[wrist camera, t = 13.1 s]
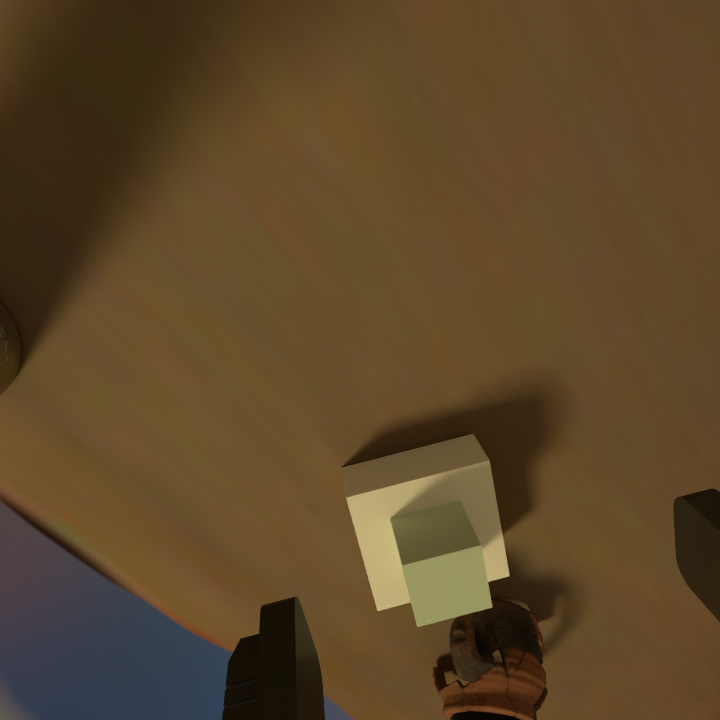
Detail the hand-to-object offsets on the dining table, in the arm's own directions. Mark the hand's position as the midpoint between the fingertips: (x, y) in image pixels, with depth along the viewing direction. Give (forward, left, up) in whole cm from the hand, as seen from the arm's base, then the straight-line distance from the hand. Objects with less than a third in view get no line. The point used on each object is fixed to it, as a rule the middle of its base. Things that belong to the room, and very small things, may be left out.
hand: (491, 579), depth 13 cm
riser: (+1, -19, -30) cm, 36 cm away
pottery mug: (+3, -33, -30) cm, 45 cm away
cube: (+1, -19, -26) cm, 32 cm away
